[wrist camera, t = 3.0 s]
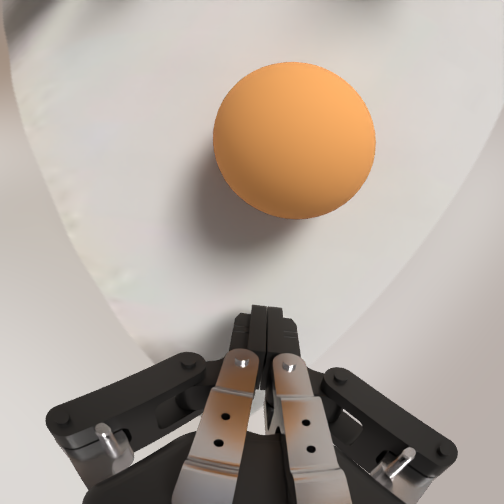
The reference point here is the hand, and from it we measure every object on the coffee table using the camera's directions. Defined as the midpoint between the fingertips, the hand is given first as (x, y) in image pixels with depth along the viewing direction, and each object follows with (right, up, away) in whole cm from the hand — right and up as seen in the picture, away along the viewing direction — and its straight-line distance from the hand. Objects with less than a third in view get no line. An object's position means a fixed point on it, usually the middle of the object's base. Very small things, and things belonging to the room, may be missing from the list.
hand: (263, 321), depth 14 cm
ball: (+1, +8, -4) cm, 9 cm away
